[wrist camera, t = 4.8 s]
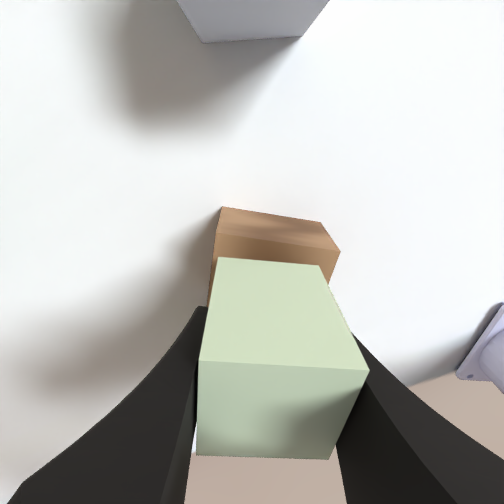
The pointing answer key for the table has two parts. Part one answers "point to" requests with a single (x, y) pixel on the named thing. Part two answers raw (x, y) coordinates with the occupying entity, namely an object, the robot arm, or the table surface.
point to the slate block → (250, 18)
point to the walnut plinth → (272, 241)
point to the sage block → (274, 363)
